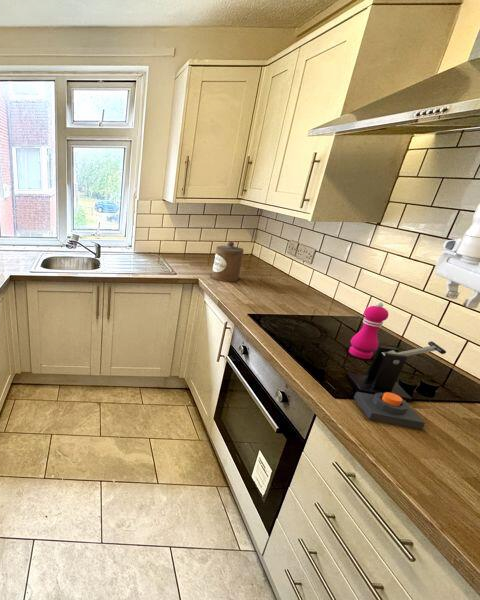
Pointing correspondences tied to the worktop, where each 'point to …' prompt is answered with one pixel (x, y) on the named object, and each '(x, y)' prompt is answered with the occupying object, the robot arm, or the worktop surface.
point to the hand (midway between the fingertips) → (459, 302)
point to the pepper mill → (368, 332)
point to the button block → (388, 411)
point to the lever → (418, 350)
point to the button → (392, 399)
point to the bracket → (382, 374)
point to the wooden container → (227, 262)
